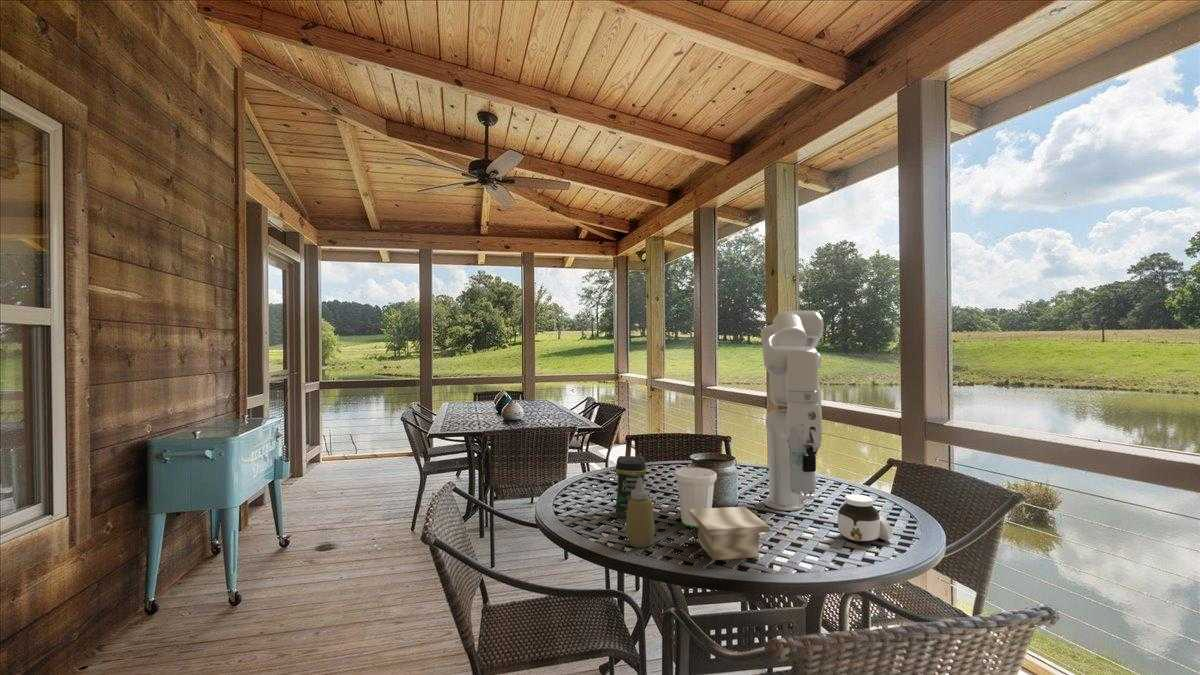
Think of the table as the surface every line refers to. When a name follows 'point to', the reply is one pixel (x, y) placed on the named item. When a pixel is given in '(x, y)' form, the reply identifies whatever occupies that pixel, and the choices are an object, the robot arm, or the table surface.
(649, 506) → the squeeze bottle
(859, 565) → the table surface
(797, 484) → the bottle
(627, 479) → the coffee jar
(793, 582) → the table surface
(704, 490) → the cup
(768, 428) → the robot arm
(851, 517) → the spread jar
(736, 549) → the stand
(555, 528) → the table surface
